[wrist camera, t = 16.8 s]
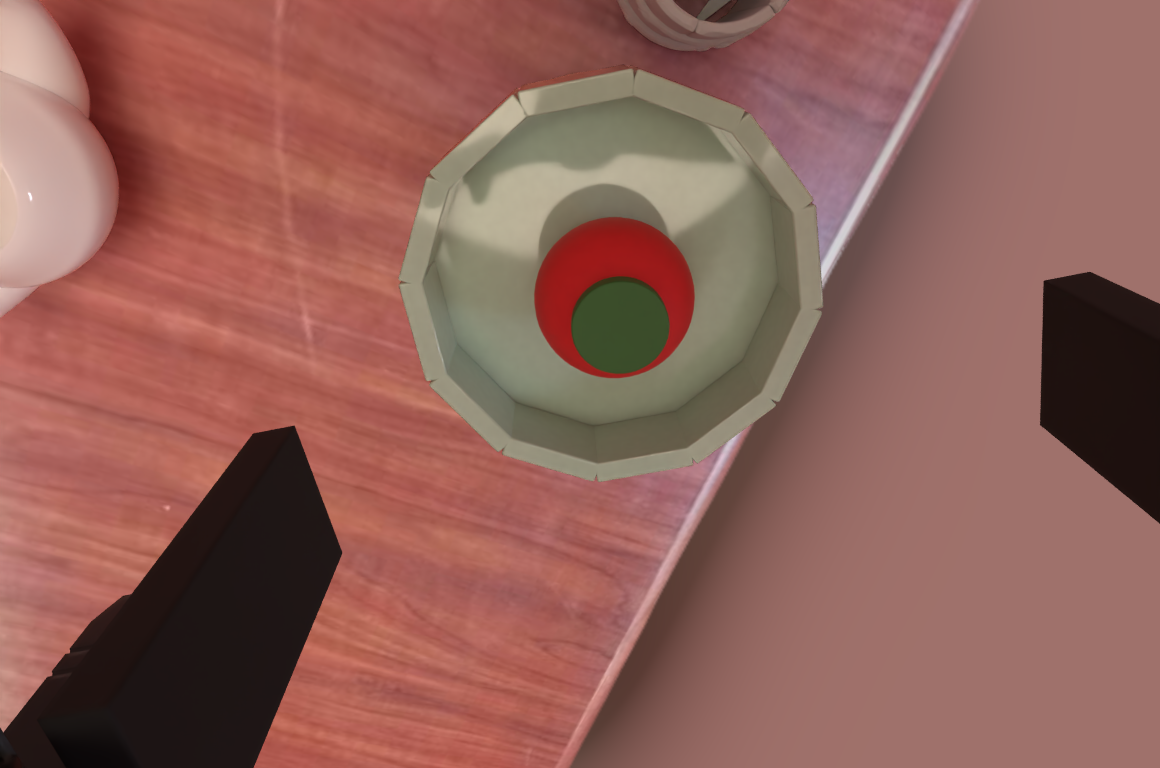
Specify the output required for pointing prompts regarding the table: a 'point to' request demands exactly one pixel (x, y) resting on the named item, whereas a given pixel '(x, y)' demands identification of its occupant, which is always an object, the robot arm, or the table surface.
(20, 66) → the teapot
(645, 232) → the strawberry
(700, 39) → the mug
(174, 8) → the table surface
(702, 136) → the dish
